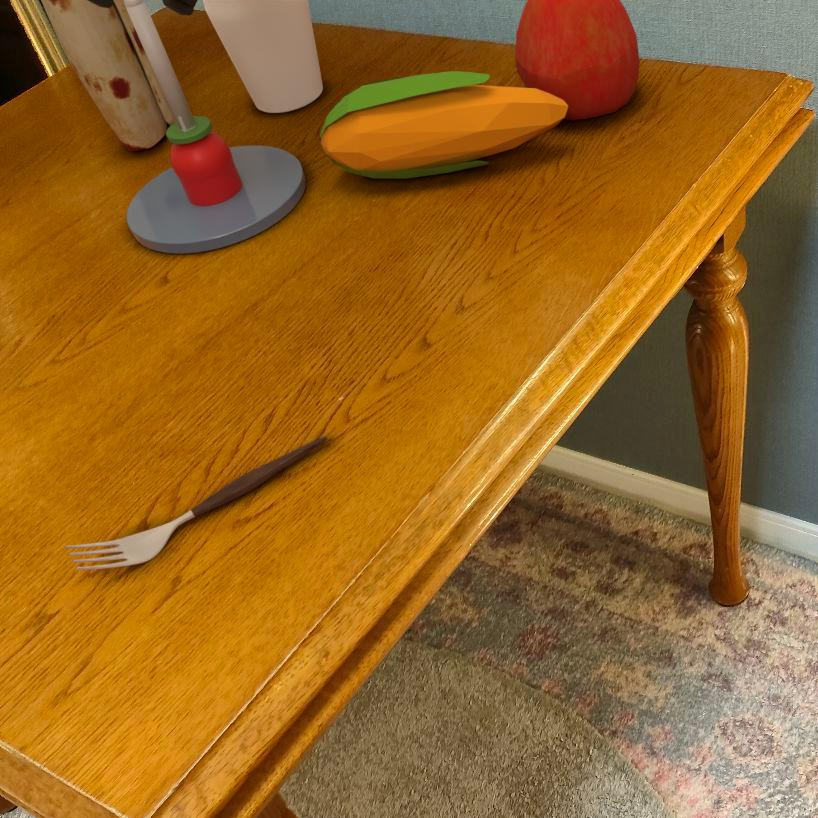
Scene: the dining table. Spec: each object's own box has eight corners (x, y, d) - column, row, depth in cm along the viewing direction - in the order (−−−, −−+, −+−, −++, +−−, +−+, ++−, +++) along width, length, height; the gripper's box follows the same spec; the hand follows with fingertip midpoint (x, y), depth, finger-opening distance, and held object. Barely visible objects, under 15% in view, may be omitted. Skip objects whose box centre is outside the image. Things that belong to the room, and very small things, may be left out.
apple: (500, 114, 87) (477, -15, 79) (585, 65, 90) (571, -62, 82) (582, 146, 81) (565, 11, 73) (669, 93, 84) (662, -42, 77)
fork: (339, 454, 61) (329, 430, 59) (94, 593, 56) (77, 571, 55) (320, 433, 63) (310, 409, 61) (80, 566, 58) (63, 544, 56)
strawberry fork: (181, 210, 82) (88, 11, 70) (194, 179, 85) (108, -16, 73) (237, 202, 81) (153, 0, 70) (248, 172, 84) (170, -26, 73)
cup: (245, 129, 92) (192, -8, 83) (242, 89, 98) (192, -43, 89) (340, 105, 93) (297, -35, 84) (331, 66, 99) (290, -68, 90)
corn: (312, 68, 80) (560, 29, 78) (341, 154, 86) (572, 120, 84) (299, 119, 75) (562, 79, 73) (331, 206, 81) (575, 171, 79)
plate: (109, 264, 80) (103, 254, 79) (157, 168, 90) (152, 158, 89) (289, 240, 78) (285, 229, 77) (318, 145, 88) (315, 134, 87)
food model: (120, 122, 97) (8, -111, 83) (187, 106, 98) (87, -130, 83) (109, 169, 91) (-14, -74, 76) (181, 153, 91) (72, -94, 76)
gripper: (290, -205, 70) (244, 36, 72) (150, -201, 76) (112, 22, 79) (209, -280, 63) (162, -11, 66) (62, -268, 69) (24, -23, 72)
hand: (135, 7), depth 72 cm, fingers open, 8 cm apart
